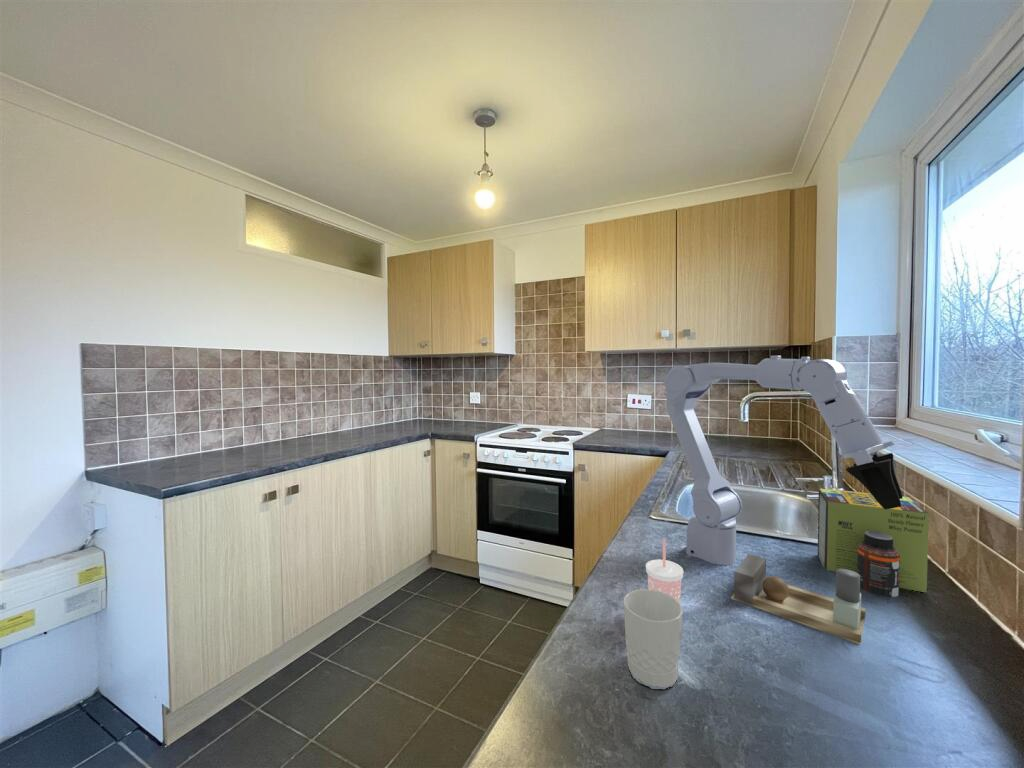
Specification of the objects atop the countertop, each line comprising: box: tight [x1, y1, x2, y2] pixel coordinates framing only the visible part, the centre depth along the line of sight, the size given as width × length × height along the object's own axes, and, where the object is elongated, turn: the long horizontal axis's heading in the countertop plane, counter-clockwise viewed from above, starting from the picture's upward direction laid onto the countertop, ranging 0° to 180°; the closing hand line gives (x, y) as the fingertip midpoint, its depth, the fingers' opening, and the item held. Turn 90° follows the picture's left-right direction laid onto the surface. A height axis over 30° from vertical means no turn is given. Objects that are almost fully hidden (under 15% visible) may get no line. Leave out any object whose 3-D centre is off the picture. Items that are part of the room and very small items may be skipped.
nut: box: [762, 575, 789, 604], centre depth 73 cm, size 4×4×4 cm
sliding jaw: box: [833, 569, 862, 630], centre depth 66 cm, size 3×6×8 cm, turn 136°
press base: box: [730, 553, 867, 645], centre depth 71 cm, size 18×10×6 cm, turn 46°
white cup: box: [623, 588, 683, 687], centre depth 58 cm, size 8×8×10 cm
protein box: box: [817, 488, 930, 592], centre depth 84 cm, size 10×15×16 cm
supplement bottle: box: [857, 531, 900, 598], centre depth 76 cm, size 6×6×11 cm
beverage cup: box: [645, 538, 684, 604], centre depth 70 cm, size 6×6×14 cm
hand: (894, 503), depth 65 cm, fingers open, 7 cm apart
